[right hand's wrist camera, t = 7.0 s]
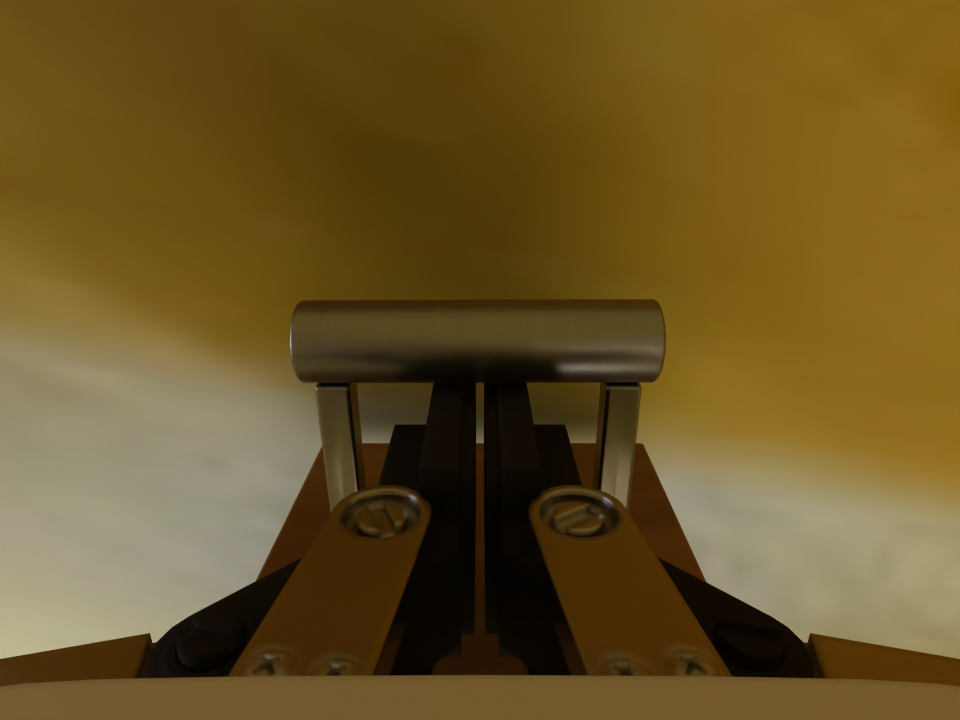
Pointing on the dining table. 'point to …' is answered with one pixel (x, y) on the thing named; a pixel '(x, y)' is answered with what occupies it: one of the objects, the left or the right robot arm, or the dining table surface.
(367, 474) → the drawer
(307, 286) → the dining table surface
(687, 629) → the right robot arm
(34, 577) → the dining table surface
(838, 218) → the dining table surface
